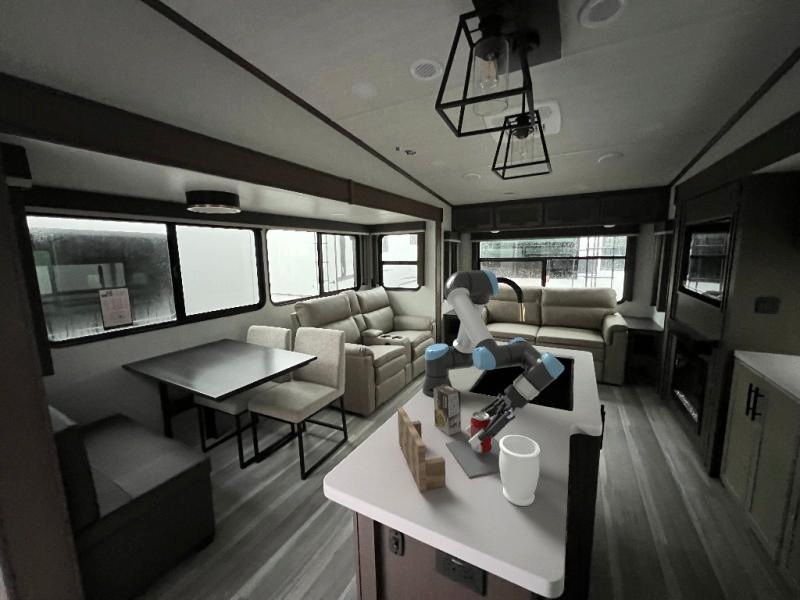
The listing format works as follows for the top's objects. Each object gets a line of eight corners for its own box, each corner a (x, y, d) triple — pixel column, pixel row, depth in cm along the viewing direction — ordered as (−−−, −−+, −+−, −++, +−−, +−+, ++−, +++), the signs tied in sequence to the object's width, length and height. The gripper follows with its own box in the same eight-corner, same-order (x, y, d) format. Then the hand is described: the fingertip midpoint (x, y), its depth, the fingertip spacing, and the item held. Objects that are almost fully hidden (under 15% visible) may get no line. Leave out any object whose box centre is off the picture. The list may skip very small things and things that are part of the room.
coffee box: (461, 431, 119) (461, 391, 117) (448, 436, 116) (448, 395, 114) (446, 421, 127) (445, 383, 125) (434, 425, 124) (433, 387, 122)
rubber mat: (445, 444, 111) (445, 443, 111) (490, 436, 115) (490, 434, 115) (469, 478, 93) (469, 476, 93) (521, 466, 98) (521, 464, 98)
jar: (535, 515, 79) (536, 461, 77) (494, 500, 84) (494, 449, 83) (541, 489, 88) (542, 440, 86) (504, 477, 93) (504, 430, 92)
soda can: (480, 457, 99) (480, 422, 98) (466, 447, 105) (466, 413, 104) (495, 451, 103) (496, 417, 101) (481, 441, 109) (481, 408, 107)
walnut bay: (399, 444, 112) (397, 408, 110) (420, 441, 114) (419, 404, 112) (419, 492, 89) (418, 446, 87) (445, 486, 90) (444, 441, 89)
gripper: (539, 414, 91) (483, 464, 94) (520, 387, 110) (474, 429, 114) (521, 397, 90) (465, 447, 94) (505, 373, 110) (459, 415, 114)
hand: (470, 437), depth 104 cm, fingers closed on soda can, 7 cm apart
